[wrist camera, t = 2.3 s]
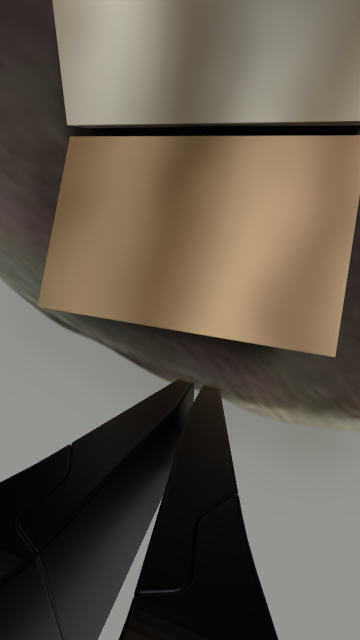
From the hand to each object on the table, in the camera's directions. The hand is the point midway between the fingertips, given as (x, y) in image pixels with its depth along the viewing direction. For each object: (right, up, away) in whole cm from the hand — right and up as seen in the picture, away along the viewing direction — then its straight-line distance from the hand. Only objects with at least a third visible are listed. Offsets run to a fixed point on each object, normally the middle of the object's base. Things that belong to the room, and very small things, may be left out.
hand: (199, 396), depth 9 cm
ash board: (+1, +14, +7) cm, 16 cm away
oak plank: (0, +6, +8) cm, 10 cm away
